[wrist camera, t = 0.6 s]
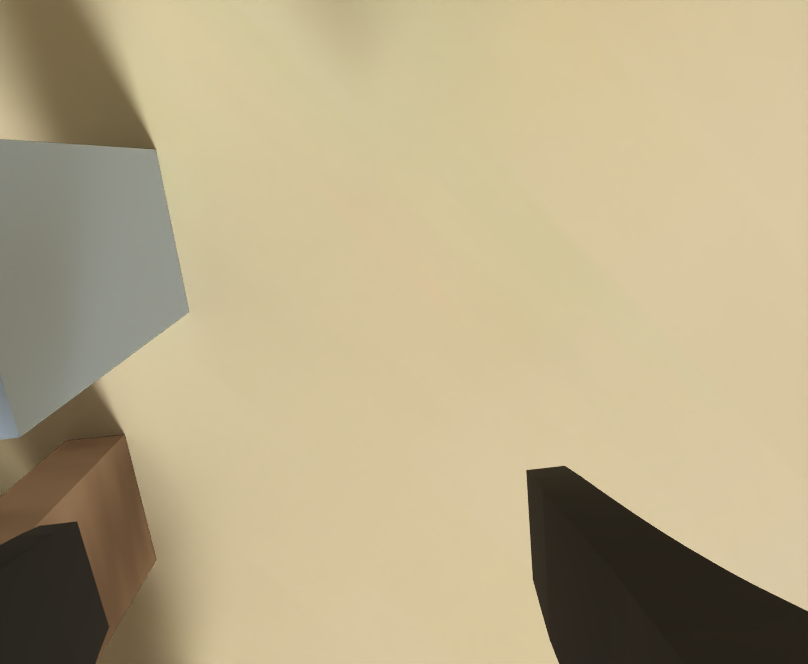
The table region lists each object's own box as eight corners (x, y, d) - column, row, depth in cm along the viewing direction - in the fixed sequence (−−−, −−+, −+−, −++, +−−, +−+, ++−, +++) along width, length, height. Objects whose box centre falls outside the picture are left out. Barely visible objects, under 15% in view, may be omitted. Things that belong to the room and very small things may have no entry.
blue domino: (189, 312, 19) (19, 437, 10) (127, 318, 19) (-96, 449, 10) (155, 149, 17) (-74, 134, 9) (89, 156, 17) (-207, 148, 9)
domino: (156, 559, 21) (-2, 830, 13) (101, 565, 21) (-95, 839, 13) (124, 434, 20) (-77, 641, 11) (66, 440, 20) (-181, 651, 11)
